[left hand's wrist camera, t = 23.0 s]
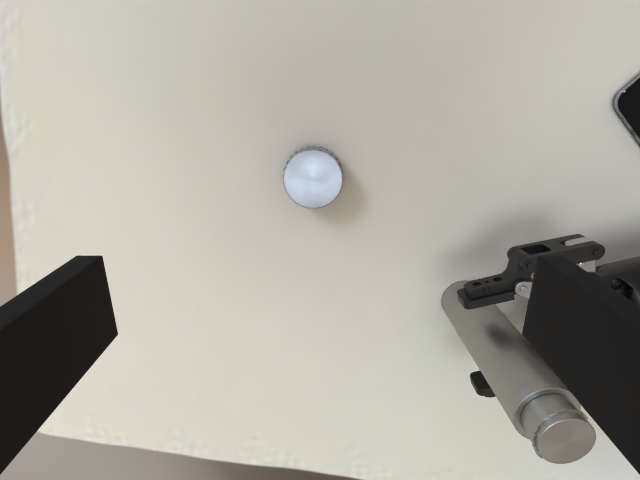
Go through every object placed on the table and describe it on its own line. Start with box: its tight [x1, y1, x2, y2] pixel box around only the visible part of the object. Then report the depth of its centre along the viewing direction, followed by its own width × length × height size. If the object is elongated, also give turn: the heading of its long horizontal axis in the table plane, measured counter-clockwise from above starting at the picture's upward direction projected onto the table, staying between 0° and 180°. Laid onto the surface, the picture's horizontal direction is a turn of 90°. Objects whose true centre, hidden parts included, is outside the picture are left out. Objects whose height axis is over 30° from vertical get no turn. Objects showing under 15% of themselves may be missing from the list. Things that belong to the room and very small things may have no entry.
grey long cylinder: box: [441, 281, 596, 464], centre depth 31 cm, size 4×4×17 cm
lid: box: [283, 146, 343, 208], centre depth 34 cm, size 5×5×2 cm
